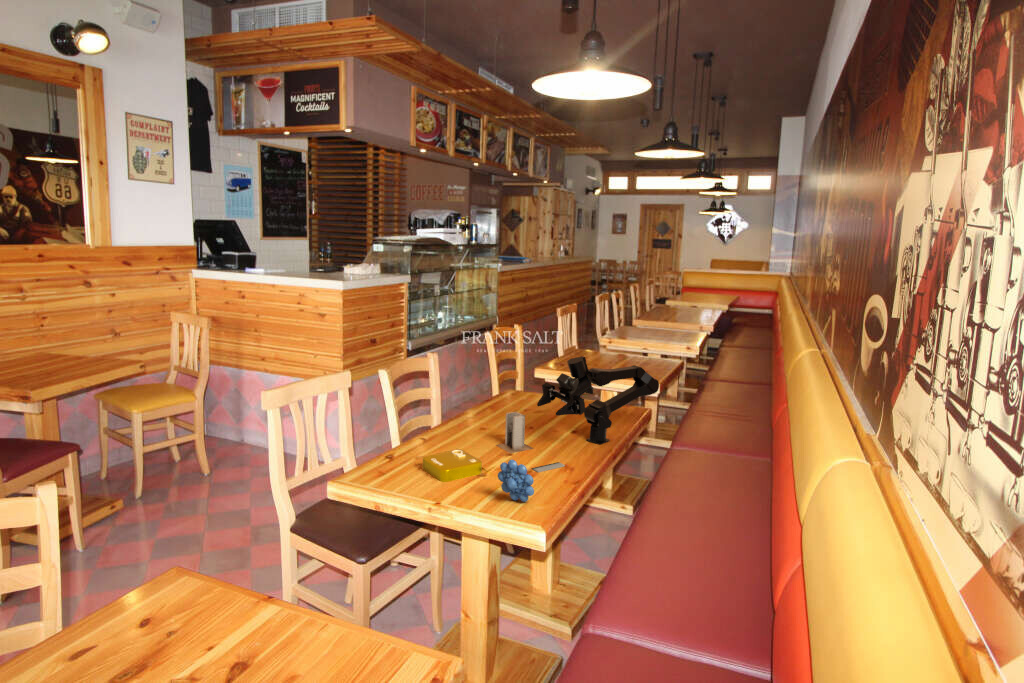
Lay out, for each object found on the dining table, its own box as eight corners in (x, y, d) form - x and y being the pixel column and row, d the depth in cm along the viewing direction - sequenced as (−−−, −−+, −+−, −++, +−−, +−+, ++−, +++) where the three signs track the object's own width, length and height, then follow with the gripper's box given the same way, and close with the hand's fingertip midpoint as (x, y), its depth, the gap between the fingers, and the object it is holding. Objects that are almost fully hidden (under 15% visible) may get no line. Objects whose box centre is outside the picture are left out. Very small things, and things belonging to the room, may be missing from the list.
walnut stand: (518, 443, 225) (518, 430, 224) (534, 451, 217) (534, 437, 216) (495, 447, 219) (495, 434, 219) (510, 456, 211) (510, 442, 210)
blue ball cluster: (490, 501, 174) (490, 461, 172) (501, 493, 180) (502, 454, 178) (526, 510, 169) (527, 469, 167) (537, 501, 175) (538, 461, 173)
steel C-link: (515, 443, 221) (516, 411, 219) (524, 448, 217) (525, 415, 215) (505, 445, 219) (505, 413, 217) (513, 450, 214) (514, 417, 212)
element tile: (420, 469, 199) (420, 455, 198) (460, 460, 207) (460, 446, 206) (443, 484, 187) (443, 469, 186) (484, 474, 195) (484, 460, 194)
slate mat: (545, 456, 212) (545, 455, 212) (564, 466, 203) (564, 465, 203) (518, 461, 206) (518, 460, 206) (537, 472, 197) (538, 471, 197)
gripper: (555, 362, 223) (525, 382, 215) (594, 377, 210) (563, 399, 202) (559, 387, 229) (529, 407, 220) (597, 404, 216) (567, 426, 207)
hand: (546, 409), depth 212 cm, fingers open, 9 cm apart
